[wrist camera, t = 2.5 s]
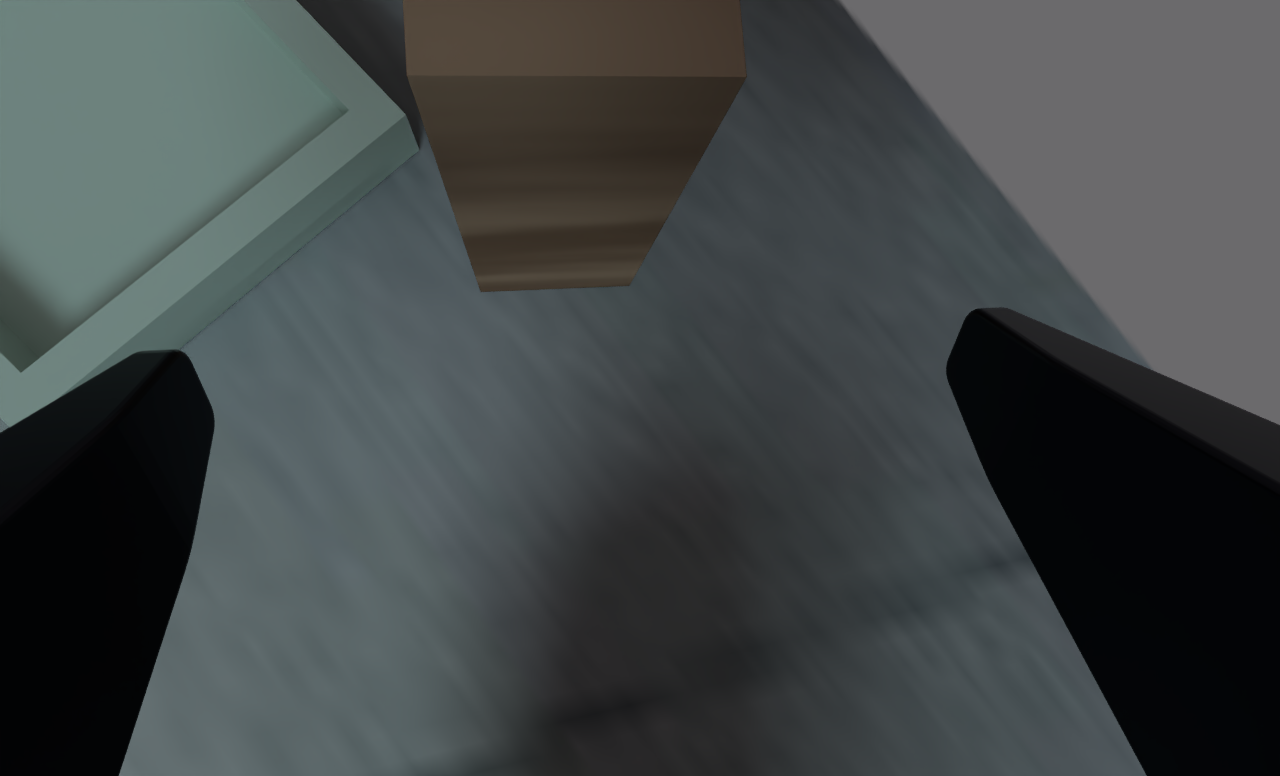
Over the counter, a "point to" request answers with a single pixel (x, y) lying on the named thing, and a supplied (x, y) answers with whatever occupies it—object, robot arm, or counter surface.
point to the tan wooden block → (569, 125)
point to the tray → (164, 171)
